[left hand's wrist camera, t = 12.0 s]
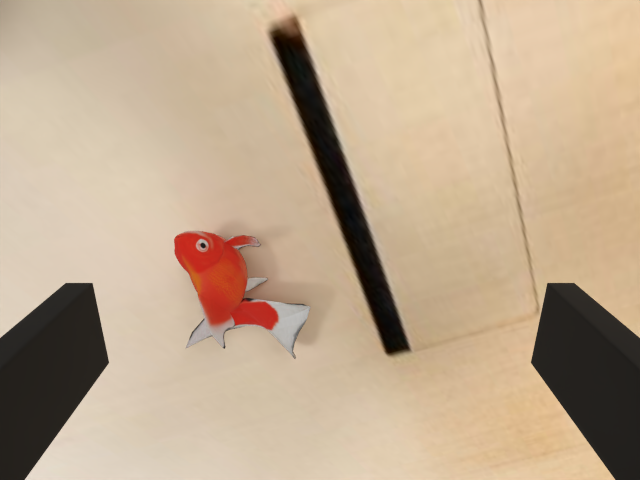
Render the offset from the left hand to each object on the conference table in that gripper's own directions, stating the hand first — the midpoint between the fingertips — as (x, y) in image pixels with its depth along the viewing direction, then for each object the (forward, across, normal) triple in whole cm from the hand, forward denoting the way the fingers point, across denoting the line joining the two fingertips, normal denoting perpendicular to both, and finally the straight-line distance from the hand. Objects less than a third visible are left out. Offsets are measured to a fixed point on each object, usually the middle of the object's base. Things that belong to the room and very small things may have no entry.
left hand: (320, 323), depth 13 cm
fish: (+26, +6, +11) cm, 29 cm away
